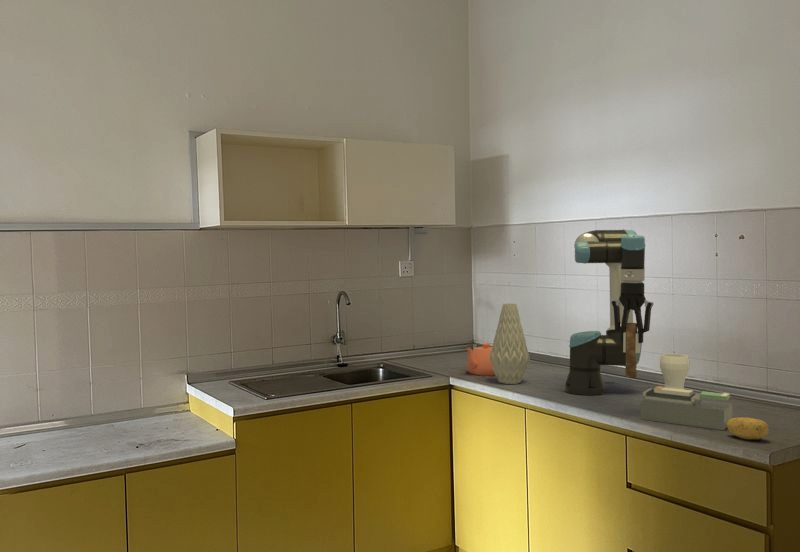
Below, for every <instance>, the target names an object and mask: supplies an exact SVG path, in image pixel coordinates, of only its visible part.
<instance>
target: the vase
mask: <svg viewBox="0 0 800 552" xmlns="http://www.w3.org/2000/svg"><path fill="white" fill-rule="evenodd" d="M491 347H492V350H491V352H490V358H489V360H490V361H491V363H492V368H493V370H494V373H495V375H494V376H495V377H496V378H497V381H498V383H500V384H502V385H503V384H504V385H517V384H521V382H522V379H523V378H524V375H525V373H526V371H527V368H528V364H529V363H530V360H531V359H530V354H529V350H528V347H527V340H526V338H525V333H524V329H523V326H522V323H521V318H520V314H519V309H518V306H517V303H503V304H502V306H501V311H500V315H499V321H498V323H497V327H496V330H495V335H494V338H493V342H492V346H491Z"/></svg>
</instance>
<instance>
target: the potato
mask: <svg viewBox="0 0 800 552" xmlns="http://www.w3.org/2000/svg"><path fill="white" fill-rule="evenodd" d="M726 429H728V431H729V432H730V433H731V434H732V435H733V436H735V437H737V438H739V439H743V440H757V441H758V440H762V438H764V437H766V436H767V435H769V430H770V429H769V425H768V424H767V422H765V421H764V420H761V419H758V418H753V417H741V416H740V417H732V419H730V420H729V421H728V423H727V428H726Z"/></svg>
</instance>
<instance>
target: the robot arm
mask: <svg viewBox="0 0 800 552" xmlns="http://www.w3.org/2000/svg"><path fill="white" fill-rule="evenodd" d="M645 252H646V239H645V236H643V235H638V234H637V232H636V231H635V230H632V229H624V228H623V229H595V230H588V231H587V232H584V233H582V234H580V235H578V237H576V239H575V242H574V261H575V263H577V264H605V265H606V266H607V267H608V268H609V270H608V271H609V274H608V275H609V327H608V328H607V329H606V330H605V334H602V333H601V331H600V330H589V331H580V332H575V333H573V334H571V335H570V337H569V345H568V347H569V371H568V374H567V377H566V381H565V383H564V391H565V392H566V393H568V394H574V395H581V396H599V395H602V394H605V392H606V386H605V383H604V380H603V376H602V374H601V366H615V367H616V366H617V367H619V366H621V367H625V368H626V323H634V316H635V321H636V322H635V323H637V333H636V348H635V353H637V364H636V366H637V365H638V364H639V361H640V358H641V353H642V345H643V344H644V333H647V332H649V331H650V328H651V327H650V326H651V315H652V308H653V306H654V302H653V301H649V300H647V299H646V297H645V283H644V282H645V268H646V267H645V261H646V259H645V257H646V256H645V255H646V254H645ZM643 305H644V308H645V310H644V319H642V318H643V317H642V306H643ZM634 314H635V315H634ZM643 320H644V322H643Z"/></svg>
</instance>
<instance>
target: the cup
mask: <svg viewBox="0 0 800 552" xmlns="http://www.w3.org/2000/svg"><path fill="white" fill-rule="evenodd" d="M690 364H691V363H690V358H689V355H687V354H682V353H681V354H680V353H662V354H661V355H660V359H659V369H660V371H661V375H662V376H663V379H664V387H665V388H675V389H684V390H685V382H686V381H685V380H686V377H687V376H688V375H689V371H690V369H691V368H690V367H691V366H690Z"/></svg>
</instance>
